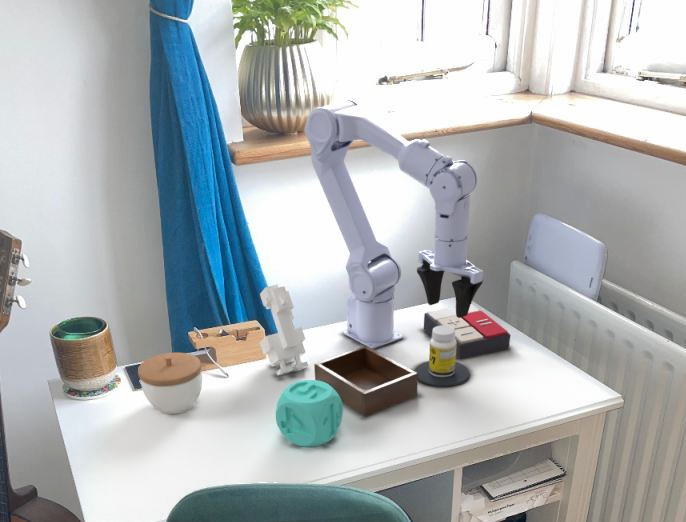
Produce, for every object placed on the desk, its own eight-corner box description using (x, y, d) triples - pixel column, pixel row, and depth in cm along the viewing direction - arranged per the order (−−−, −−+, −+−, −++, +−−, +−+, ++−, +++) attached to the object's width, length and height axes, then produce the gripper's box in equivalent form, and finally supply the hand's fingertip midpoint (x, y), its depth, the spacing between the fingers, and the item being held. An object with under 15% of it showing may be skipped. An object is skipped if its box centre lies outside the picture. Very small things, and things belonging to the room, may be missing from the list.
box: (315, 385, 144) (314, 363, 142) (365, 366, 150) (365, 345, 147) (364, 417, 134) (364, 394, 132) (417, 395, 140) (417, 373, 137)
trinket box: (217, 396, 142) (211, 348, 137) (184, 425, 134) (177, 376, 129) (167, 386, 146) (159, 339, 141) (132, 414, 138) (123, 365, 133)
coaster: (402, 372, 147) (402, 370, 147) (443, 356, 152) (443, 354, 151) (439, 392, 140) (439, 390, 140) (481, 375, 145) (481, 373, 144)
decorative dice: (318, 452, 126) (316, 408, 121) (276, 439, 130) (272, 396, 125) (344, 428, 131) (342, 385, 127) (303, 417, 135) (300, 375, 131)
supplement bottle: (426, 367, 147) (427, 325, 143) (451, 365, 148) (453, 323, 143) (431, 379, 144) (433, 336, 139) (457, 377, 144) (460, 334, 139)
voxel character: (287, 366, 140) (261, 284, 140) (268, 380, 151) (244, 305, 151) (323, 356, 142) (297, 276, 142) (302, 371, 153) (278, 297, 153)
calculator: (460, 342, 148) (423, 309, 159) (458, 362, 151) (422, 328, 162) (512, 331, 151) (472, 299, 162) (509, 351, 154) (470, 319, 165)
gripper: (406, 231, 142) (405, 303, 150) (463, 252, 132) (458, 328, 140) (435, 223, 145) (433, 294, 153) (493, 242, 135) (487, 317, 143)
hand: (447, 309), depth 147 cm, fingers open, 7 cm apart
